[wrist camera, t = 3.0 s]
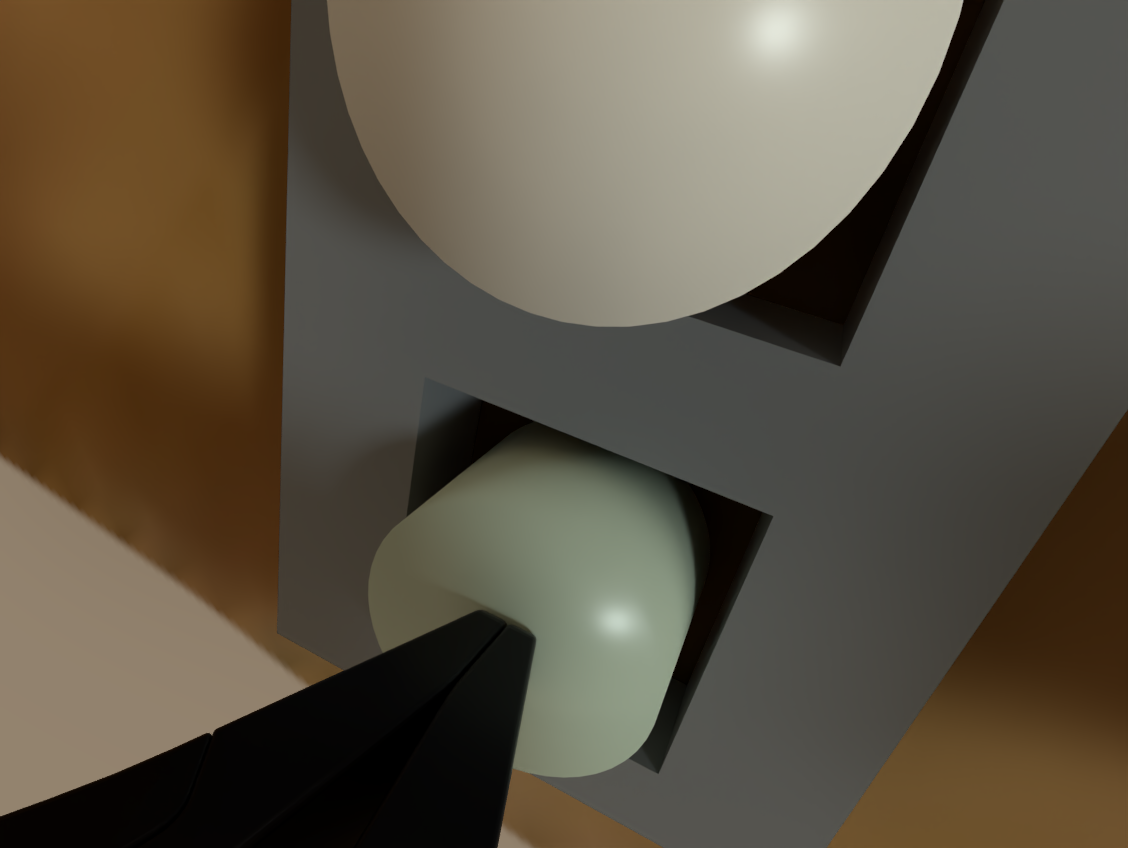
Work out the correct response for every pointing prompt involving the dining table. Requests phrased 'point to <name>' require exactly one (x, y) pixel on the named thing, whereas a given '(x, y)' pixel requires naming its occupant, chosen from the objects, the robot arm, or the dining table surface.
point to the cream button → (631, 136)
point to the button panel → (749, 419)
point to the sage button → (558, 585)
